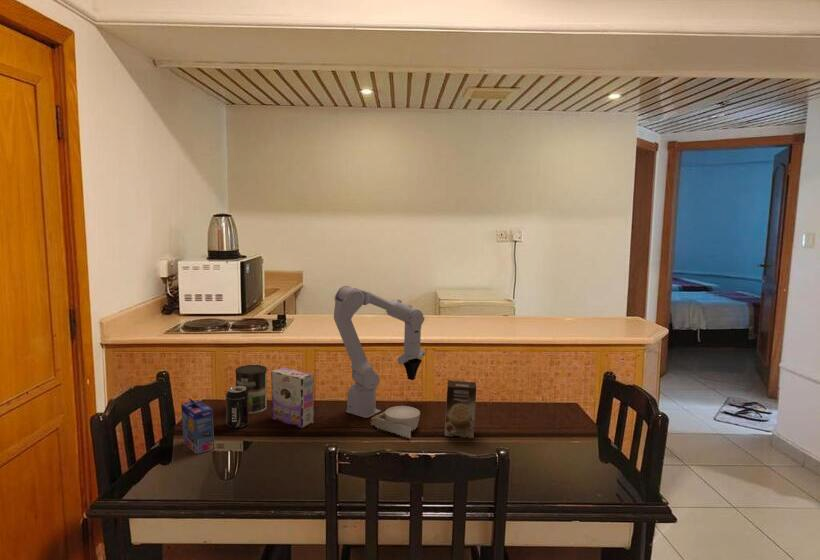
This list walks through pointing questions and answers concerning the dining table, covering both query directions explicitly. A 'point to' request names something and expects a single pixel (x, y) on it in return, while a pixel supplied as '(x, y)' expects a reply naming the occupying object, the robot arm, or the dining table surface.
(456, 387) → the coffee box
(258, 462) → the dining table surface
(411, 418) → the ramekin
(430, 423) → the dining table surface
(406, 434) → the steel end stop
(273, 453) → the dining table surface
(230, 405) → the beverage can
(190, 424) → the ink cartridge box
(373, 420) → the oak rail
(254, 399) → the coffee can
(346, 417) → the dining table surface
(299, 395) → the candy box
